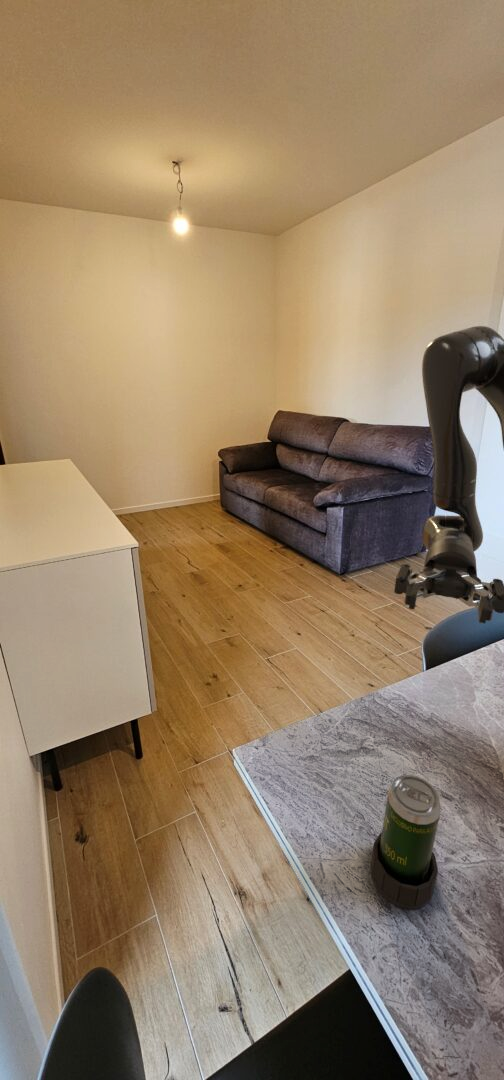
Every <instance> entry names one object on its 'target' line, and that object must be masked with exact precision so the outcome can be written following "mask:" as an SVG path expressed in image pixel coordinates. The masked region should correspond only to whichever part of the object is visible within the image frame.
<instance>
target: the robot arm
mask: <svg viewBox="0 0 504 1080" xmlns="http://www.w3.org/2000/svg"><path fill="white" fill-rule="evenodd" d="M421 374H422V375H421V377H422V387H423V393H424V399H425V407H426V414H427V419H428V424H429V431H430V438H431V443H432V455H433V483H432V489H433V490H432V500H433V505H435V507H436V508H438V509H440V510H443V511H444V512H450V513H453V514H456V515H445V514H444V515H440V514H439V515H433V516H430V517H429V518H427V519H426V520H425V521H424V524H423V526H422V530H421V532H422V541H423V544H424V547H425V548H426V550H427V551H426V555H425V559H424V565H423V568H422V569H420V570H419V571H418V570H413V568H411V565H410V564H408V563H402V564H401V566H400V568H399V570H398V572H397V574H396V576H395V582H394V590H393V592H394V593H395V594H396V595H403V594H405V596H404V604H405V606H409V607H408V609H410V610H415V607H416V602H417V598H420V597H421V598H423V599H426V598H429V597H433V596H440V597H443V598H444V597H445V598H452V599H455V600H460V602H462V603H464V604H465V605H466V606H468V607H469V608H470V607H474V608H476V609H478V610H477V615H478V623H480V624H485V625H486V622H487V621H491V620H492V619H493V613H494V612H495V613H497V614H504V582H503V580H502V579H500V578H493V579H492V581H490V582H487V581H486V582H485V581H482V580H481V578H479V577H478V570H477V569H478V568H477V558H476V554H475V552H476V551H477V550H478V549H480V547H481V546H482V544H483V541H484V532H483V527H482V524H481V520H480V517H479V514H478V510H477V504H476V503H477V501H476V490H477V489H476V488H477V475H478V463H477V458H476V454H475V452H474V449H473V447H472V445H471V443H470V441H469V440H468V438H467V436H466V433H465V432H464V429H463V426H462V423H461V422H462V421H461V403H462V397H463V393H466V392H469V391H472V390H476V391H478V393H480V394H481V395H482V396H483V397H484V398H485V399H486V401H487V402H488V404H489V405H490V406H491V407H492V409H493V410H494V412H495V413H496V416H497V418H498V421H499V424H500V431H501V439H502V447H503V450H504V337H502V336H501V334H499V333H498V332H497V331H496V330H495V329H493V328H492V327H490V326H485V325H475V326H470V327H467V328H463V329H460V330H456V331H453V332H449V333H446V334H443V335H440V336H437V337H435V338H434V339H433V340H431V341H430V342H429V344H428V345H427V347H426V348H425V351H424V353H423V356H422V361H421Z"/></svg>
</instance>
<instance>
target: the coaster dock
mask: <svg viewBox="0 0 504 1080" xmlns="http://www.w3.org/2000/svg"><path fill="white" fill-rule="evenodd" d="M381 835H382V831H381V832H380V833H379V834H378V836H377V838H375V841H374V842H373V846H372V853H371V859H370V876H371V879H372V882H373V884H374V887H375V888H376V890H377V891H378V892H379V894H380V895H381V896H382V897H383V898H384V899H385V900H386V901H387V902H389V903H391V904H392V905H394V906H396V907H398V908H400V909H404V910H410V911H411V910H412V911H414V910H419V909H422V908H424V907H425V906H426V905H428V904H429V903H430V901H431V900H432V898H433V896H434V892H435V887H436V883H437V879H438V874H439V873H438V872H439V869H438V863H437V858H436V855H435V853H434V852H433V851H432V855H431V860H430V865H429V869H428V874H427V879H426V882H425V883H423V884H421V885H419V886H412V885H407V884H402V883H400V882H398V881H397V880H396V879H394V878H393V877H391V876H390V875H389V874H387V873H386V871H385V869H384V868H383V866H382V865H381V863H380V861H379V860H378V854H379V848H380V841H381Z"/></svg>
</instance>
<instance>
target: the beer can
mask: <svg viewBox="0 0 504 1080" xmlns="http://www.w3.org/2000/svg"><path fill="white" fill-rule="evenodd" d="M441 812H442V810H441V800H440V795H439V793H438V791H437V790H436V788H435V787H434V786H433V785H432V784H431V783H430V782H429V781H427V780H426V779H424V778H421V777H419V776H417V775H413V774H402V775H400V776H397V777H396V778H395V779H393V781H392V783H391V785H390V786H389V789H388V790H387V797H386V803H385V809H384V816H383V823H382V829H381V832H382V835H381V841H380V848H379V854H378V860H379V861H380V863H381V865H382V866H383V868H384V869H385V871H386V873H387V874H389V875H390V876H391V877H393V878H394V879H396V880H397V881H398V882H400V883H402V884H407V885H412V886H419V885H421V884H423V883H425V882H426V879H427V874H428V869H429V865H430V860H431V855H432V851H433V850H434V846H435V841H436V836H437V831H438V827H439V821H440V817H441Z"/></svg>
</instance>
